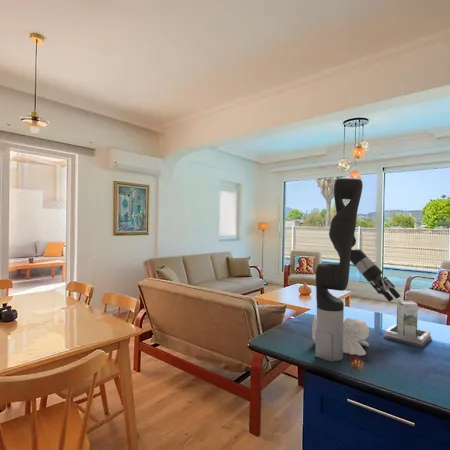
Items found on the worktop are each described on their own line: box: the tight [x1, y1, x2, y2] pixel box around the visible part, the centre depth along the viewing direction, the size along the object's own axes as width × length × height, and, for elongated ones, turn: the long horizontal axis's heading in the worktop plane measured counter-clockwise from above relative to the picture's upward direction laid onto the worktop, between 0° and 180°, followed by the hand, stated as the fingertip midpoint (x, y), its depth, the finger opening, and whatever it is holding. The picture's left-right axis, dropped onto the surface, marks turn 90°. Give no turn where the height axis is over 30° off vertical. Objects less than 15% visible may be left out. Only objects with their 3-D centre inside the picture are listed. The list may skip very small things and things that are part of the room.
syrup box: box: [396, 299, 419, 338], centre depth 128 cm, size 6×6×14 cm
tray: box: [383, 323, 432, 348], centre depth 128 cm, size 14×14×3 cm
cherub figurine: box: [311, 314, 370, 357], centre depth 119 cm, size 13×12×20 cm
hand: (395, 298), depth 131 cm, fingers open, 8 cm apart
